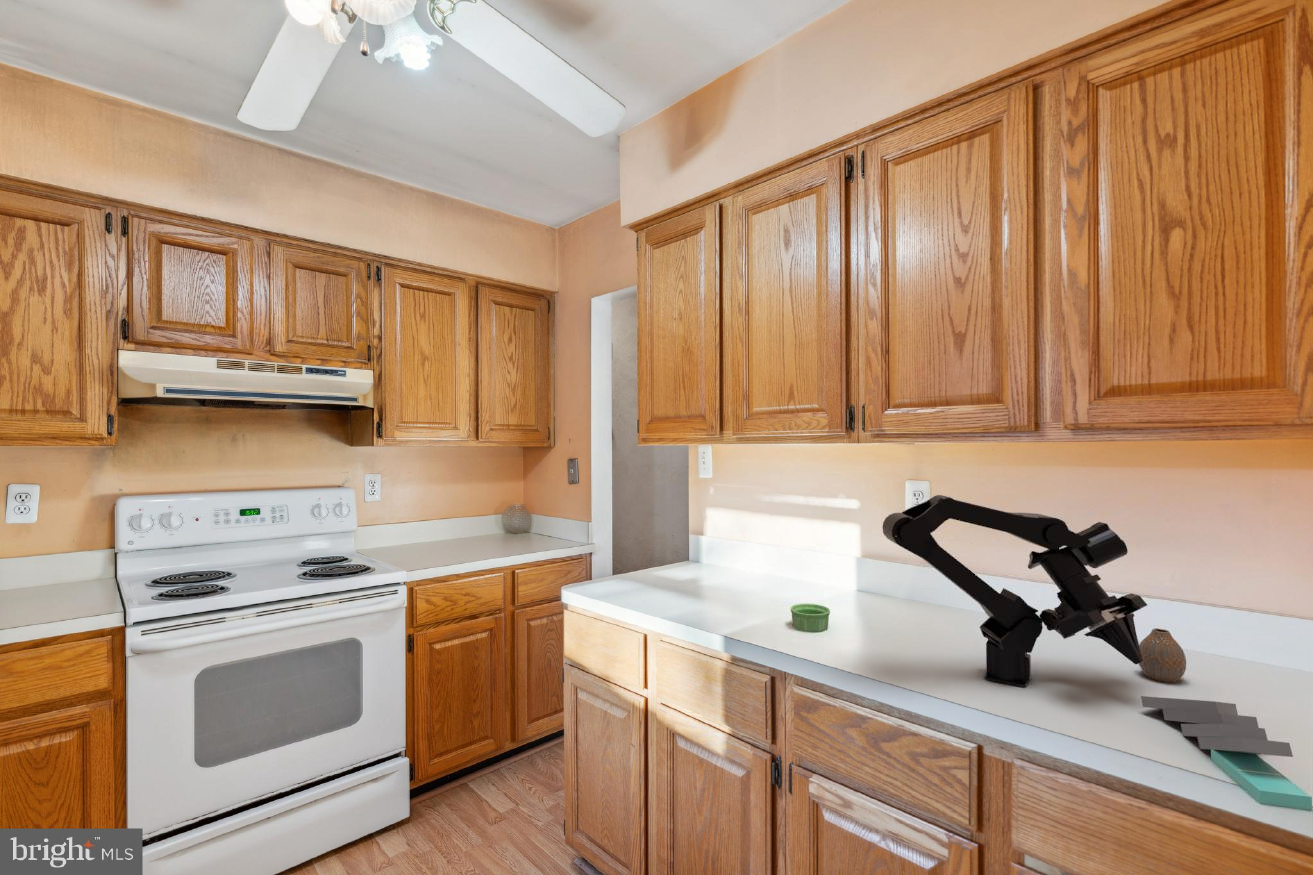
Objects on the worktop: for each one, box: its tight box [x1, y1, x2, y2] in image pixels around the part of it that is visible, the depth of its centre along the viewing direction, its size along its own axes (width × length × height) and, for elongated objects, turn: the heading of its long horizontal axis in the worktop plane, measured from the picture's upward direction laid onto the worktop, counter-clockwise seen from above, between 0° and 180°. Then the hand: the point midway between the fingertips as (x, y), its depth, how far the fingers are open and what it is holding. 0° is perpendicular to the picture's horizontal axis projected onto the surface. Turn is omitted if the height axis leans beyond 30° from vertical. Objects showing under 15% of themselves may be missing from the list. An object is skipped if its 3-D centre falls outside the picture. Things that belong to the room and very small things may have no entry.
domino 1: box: [1140, 695, 1239, 715], centre depth 93 cm, size 2×5×10 cm
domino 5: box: [1210, 749, 1313, 811], centre depth 78 cm, size 2×5×10 cm
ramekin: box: [790, 603, 831, 633], centre depth 142 cm, size 9×9×4 cm
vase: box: [1138, 627, 1187, 683], centre depth 111 cm, size 7×7×9 cm
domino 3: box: [1180, 723, 1269, 741], centre depth 85 cm, size 2×5×10 cm
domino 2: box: [1162, 709, 1260, 728], centre depth 89 cm, size 2×5×10 cm
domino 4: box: [1196, 736, 1294, 758], centre depth 81 cm, size 2×5×10 cm
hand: (1139, 663), depth 100 cm, fingers closed
